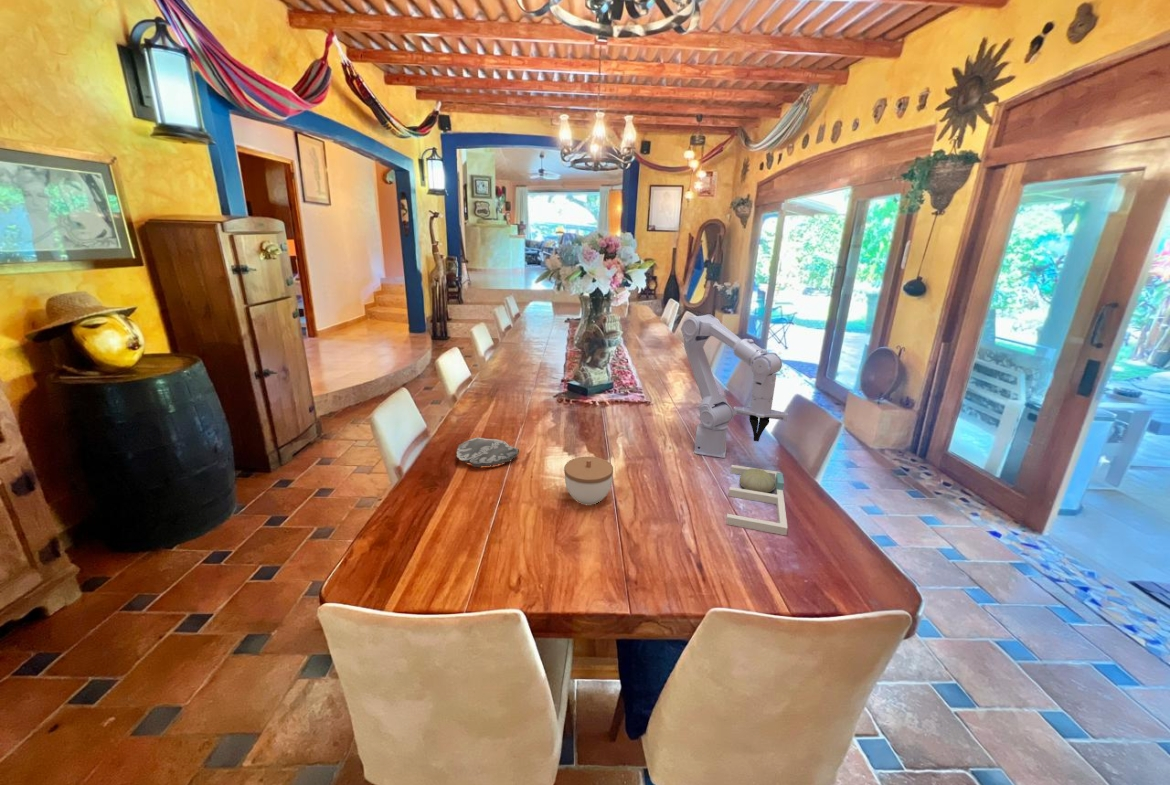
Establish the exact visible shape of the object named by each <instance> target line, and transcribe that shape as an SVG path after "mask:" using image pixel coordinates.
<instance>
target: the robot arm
mask: <svg viewBox="0 0 1170 785" xmlns="http://www.w3.org/2000/svg"><path fill="white" fill-rule="evenodd" d="M680 330H681V333H682V337H683V348H684V351H685V354H686V355H687V356H686V357H687V359H688V362H689V365H690V368H691V371H692V374H693V377H694V380H695V383H696V386H697V389H698V391H699V395H700V396H701V401H700V403H699V405H698V410H699V420H700V423H698V424H697V427H696V432H695V440H694V451H693V452H694V454H696V455H701V456H709V457H714V458H722V459H725V458H726V455H727V446H726V442H727V432H728V426H729V424H730V422H731V421H732V420H733V419H734V416H737V415H739V416H748V417H749V423H750V426H751V429H752V434H753V442H757V443H758V442H759V441H760V439H761V436H762V434H763V432H764V430H765V429H766V427H768V425H769V423H770V419H771V420H772V419H773V420H781V421H783V422H788V412H785V411H779V410H775V409H772V406H773V400H774V393H775V387H776V381H777V380H776V379H777V373H778V372H780V370H781V369H782V367H783V361H782V359H781V357H780V356H779V355H778V354H777V353H776V352H768V351H767V350H768V349H765V348H762V347H760V346H759V345H757V344H756V343H754V342H755V341H754V339H751V338H742V339H741V338H740V337H739V336H737V334H735V333H734V332H733V331H731V330H730V329H729V328H727V326H725V325H724V324H722V323H721V322H720V319H719V318H717V317H715V316H714V315H712V314H710V313H708V314H704V315H697V316H688V317H686V318H685V319H684V321H683V322H682V325H681V326H680ZM710 337H714V338H715V339H717V340H719V341H720V342H722V343H723V344H725V345H726V346H728V347H730V348H731V349H733V354H734V356H736V357H737V358H738V359H739V360H741V361H742V362H744V363H745V364H747V366H749V367H750V370H751V371H752V375H753V383H752V388H751V389H752V390H751V396H750V397H751V398H750V404H749V406H733V408H732V406H731V405H730V404H729V402H728V400H727V398H726V397H724V395H721V394H720V392H719V390H718V386H717V383H716V380H715V378H714V375H713V371H712V369H711V366H710V363H709V361H708V358H707V355H706V352H705V349H704V346H705V344H706V342H707V341H709V338H710Z"/></svg>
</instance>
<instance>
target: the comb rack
mask: <svg viewBox="0 0 1170 785" xmlns="http://www.w3.org/2000/svg"><path fill="white" fill-rule="evenodd" d="M751 468H753V469H757V468H756V467H755V468H754V467H749V466H748V467H747V466H742V465H736V464H731V467H730V474H735V475H740V476H741V475H742V474H743V472H745V471H746V470H748V469H751ZM760 469H761V468H760ZM761 470H764V471H766V472H767V473H768V474H769V475H770V476H771V477H772V478H773V480H774V483H775V487H774V491H775V493H771V492H769V493H764V492H758V491H752V490H747V489H745V488H738V487H734V486H729V488H728V489H729V490H728V497H732V498H738V499H743V500H748V501H754V502H761V503H767V504H770V505H771V504H772V505H776V509H777V510H776V512H777V522H775V521H769V520H764V519H759V518H754V517H753V518H752V517H747V516H742V515H736V514H731V513H726V522H725V525H728V526H729V525H730V526H733V527H740V528H743V529H750V530H755V531H761V532H764V533H765V532H766V533H770V534H775V535H776V534H777V535H781V536H787V534H788V529H789V528H788V520H787V513H786V504H785V496H784V486H785V481H784V474H783V472H781V471H777V470H776V471H775V470H768V469H761Z"/></svg>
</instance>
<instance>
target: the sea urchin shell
mask: <svg viewBox="0 0 1170 785" xmlns="http://www.w3.org/2000/svg"><path fill="white" fill-rule="evenodd" d="M750 468H751V469H748V470H746V471H745V472H743V474H742V475H740V477H739V484H740V486H741V487H742V489H746V490H752V491H758V492H764V493H771V492H773V491H774V490H775V483H774V480H773V478H772V477H771V476H770V475H769V474H768V473H767V472H766V471H764V470H765V469H763V470H761V468H756V469H753V468H754V467H750Z"/></svg>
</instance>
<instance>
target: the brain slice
mask: <svg viewBox="0 0 1170 785" xmlns="http://www.w3.org/2000/svg"><path fill="white" fill-rule="evenodd" d="M519 454H520V449H519V448H518V447H514V446H511V445H510V444H508V443H507V442H506V441H505V440H501V439H497V438H484V437H474V438H471V439H468V440H466V441H463V442H462V443H460V444H458V447H457V448H456V458H458V460H459V461H462V462H464V463H465V462H466V463H471V464H472V467H474V466H475V467H474V468H476V467H481V466H490V465H491V466H493V465H498V464H502V463H505V462H506V463H509V462H508V461H510V460H512V459H513V458H514V459H516V457H518V455H519ZM514 459H513V460H514ZM513 460H512V461H513ZM510 462H511V461H510ZM466 463H465V464H466ZM506 463H505V464H506Z"/></svg>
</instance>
